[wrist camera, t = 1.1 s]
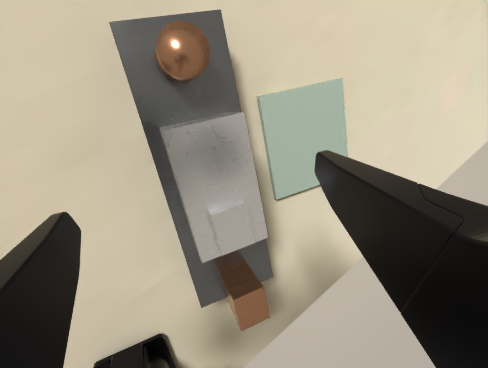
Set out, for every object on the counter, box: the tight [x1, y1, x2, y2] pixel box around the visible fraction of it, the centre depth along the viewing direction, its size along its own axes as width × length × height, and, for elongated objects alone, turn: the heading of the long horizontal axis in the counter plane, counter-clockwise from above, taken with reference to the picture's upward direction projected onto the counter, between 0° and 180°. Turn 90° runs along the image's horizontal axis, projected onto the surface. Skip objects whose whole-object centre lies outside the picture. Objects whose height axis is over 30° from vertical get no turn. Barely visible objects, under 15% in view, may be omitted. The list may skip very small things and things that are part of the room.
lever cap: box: [160, 112, 268, 263], centre depth 18 cm, size 9×5×4 cm, turn 12°
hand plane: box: [109, 10, 273, 331], centre depth 20 cm, size 22×7×8 cm, turn 12°
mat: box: [257, 78, 348, 200], centre depth 26 cm, size 10×9×1 cm
